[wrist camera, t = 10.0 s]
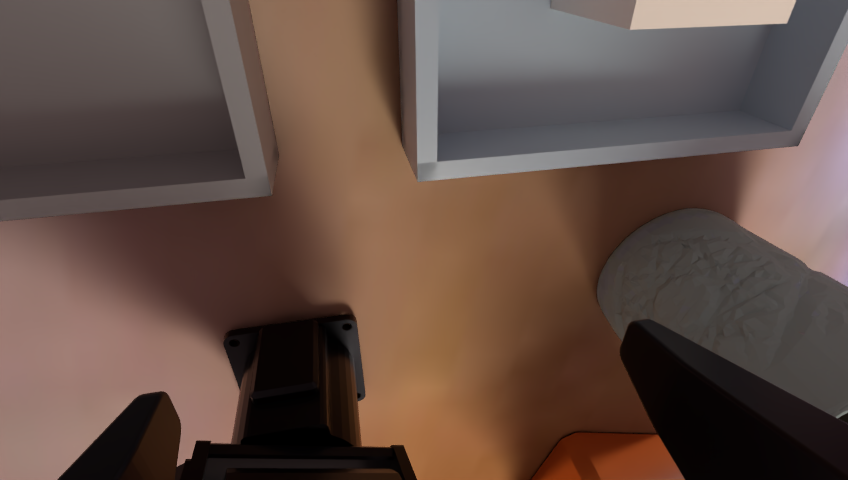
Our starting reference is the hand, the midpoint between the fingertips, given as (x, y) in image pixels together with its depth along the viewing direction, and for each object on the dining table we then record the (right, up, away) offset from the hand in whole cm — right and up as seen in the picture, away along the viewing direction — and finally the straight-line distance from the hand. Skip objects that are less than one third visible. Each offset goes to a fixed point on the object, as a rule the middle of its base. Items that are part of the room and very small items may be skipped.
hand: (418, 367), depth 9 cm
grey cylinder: (+14, +1, +18) cm, 22 cm away
